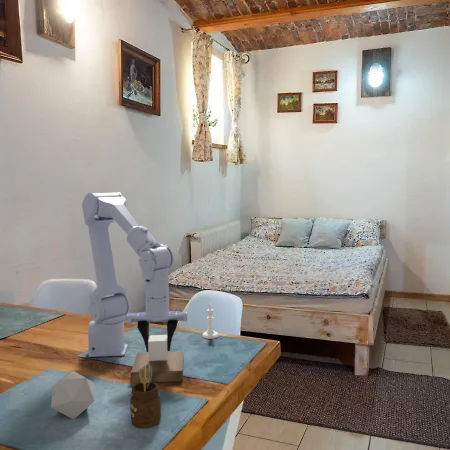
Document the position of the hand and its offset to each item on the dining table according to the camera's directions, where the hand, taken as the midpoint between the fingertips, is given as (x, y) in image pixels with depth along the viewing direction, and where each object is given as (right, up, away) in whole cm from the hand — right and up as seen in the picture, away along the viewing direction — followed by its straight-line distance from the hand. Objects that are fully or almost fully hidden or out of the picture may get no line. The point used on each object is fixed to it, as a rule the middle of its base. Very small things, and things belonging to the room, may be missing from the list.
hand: (158, 350), depth 113 cm
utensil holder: (+1, -8, -23) cm, 25 cm away
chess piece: (+12, -3, +26) cm, 29 cm away
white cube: (0, -1, 0) cm, 1 cm away
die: (-14, -8, -20) cm, 25 cm away
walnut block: (0, -6, +1) cm, 6 cm away
